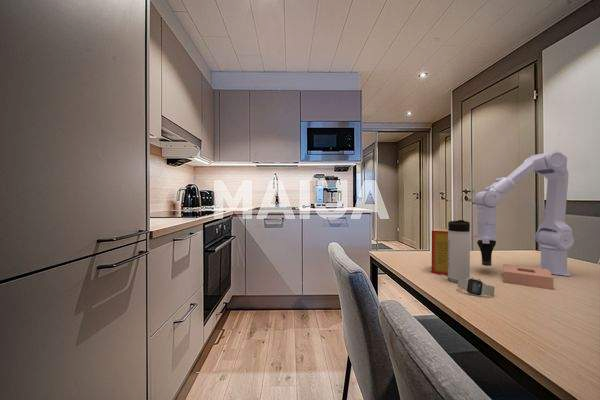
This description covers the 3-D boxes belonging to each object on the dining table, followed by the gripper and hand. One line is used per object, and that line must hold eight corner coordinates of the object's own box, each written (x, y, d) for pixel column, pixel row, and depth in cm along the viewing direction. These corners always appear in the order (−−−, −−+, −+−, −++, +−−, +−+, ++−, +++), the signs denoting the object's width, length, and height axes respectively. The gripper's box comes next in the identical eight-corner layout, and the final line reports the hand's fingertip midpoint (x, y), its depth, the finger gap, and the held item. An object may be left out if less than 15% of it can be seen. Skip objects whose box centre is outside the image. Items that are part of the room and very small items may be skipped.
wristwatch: (455, 293, 80) (455, 275, 80) (458, 287, 85) (458, 271, 85) (494, 300, 74) (494, 281, 74) (495, 293, 79) (495, 276, 79)
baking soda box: (451, 275, 97) (452, 230, 96) (431, 272, 100) (431, 229, 100) (454, 270, 104) (455, 228, 104) (436, 267, 108) (436, 227, 108)
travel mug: (471, 280, 91) (472, 220, 91) (467, 285, 86) (467, 221, 86) (451, 276, 95) (451, 219, 95) (445, 281, 91) (445, 220, 90)
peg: (481, 263, 103) (481, 245, 103) (491, 264, 102) (491, 245, 101) (481, 265, 101) (481, 246, 101) (491, 266, 99) (491, 247, 99)
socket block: (503, 273, 99) (503, 264, 99) (547, 279, 92) (547, 269, 92) (503, 282, 89) (503, 271, 89) (553, 289, 82) (553, 277, 82)
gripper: (475, 221, 109) (475, 255, 109) (472, 224, 98) (472, 262, 98) (496, 222, 105) (496, 257, 105) (496, 225, 93) (496, 265, 94)
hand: (486, 260), depth 101 cm, fingers closed on peg, 3 cm apart
